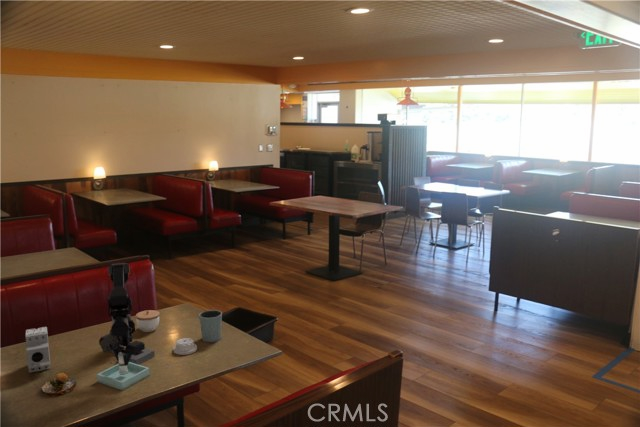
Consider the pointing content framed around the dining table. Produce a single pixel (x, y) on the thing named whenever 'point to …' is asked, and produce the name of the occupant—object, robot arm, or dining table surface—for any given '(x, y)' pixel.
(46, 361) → the circuit breaker
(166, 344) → the dining table surface
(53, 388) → the plate of food
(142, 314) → the lidded jar
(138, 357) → the socket block
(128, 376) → the parts tray
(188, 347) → the mechanical component
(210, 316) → the blue-grey cup
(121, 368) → the cylinder
